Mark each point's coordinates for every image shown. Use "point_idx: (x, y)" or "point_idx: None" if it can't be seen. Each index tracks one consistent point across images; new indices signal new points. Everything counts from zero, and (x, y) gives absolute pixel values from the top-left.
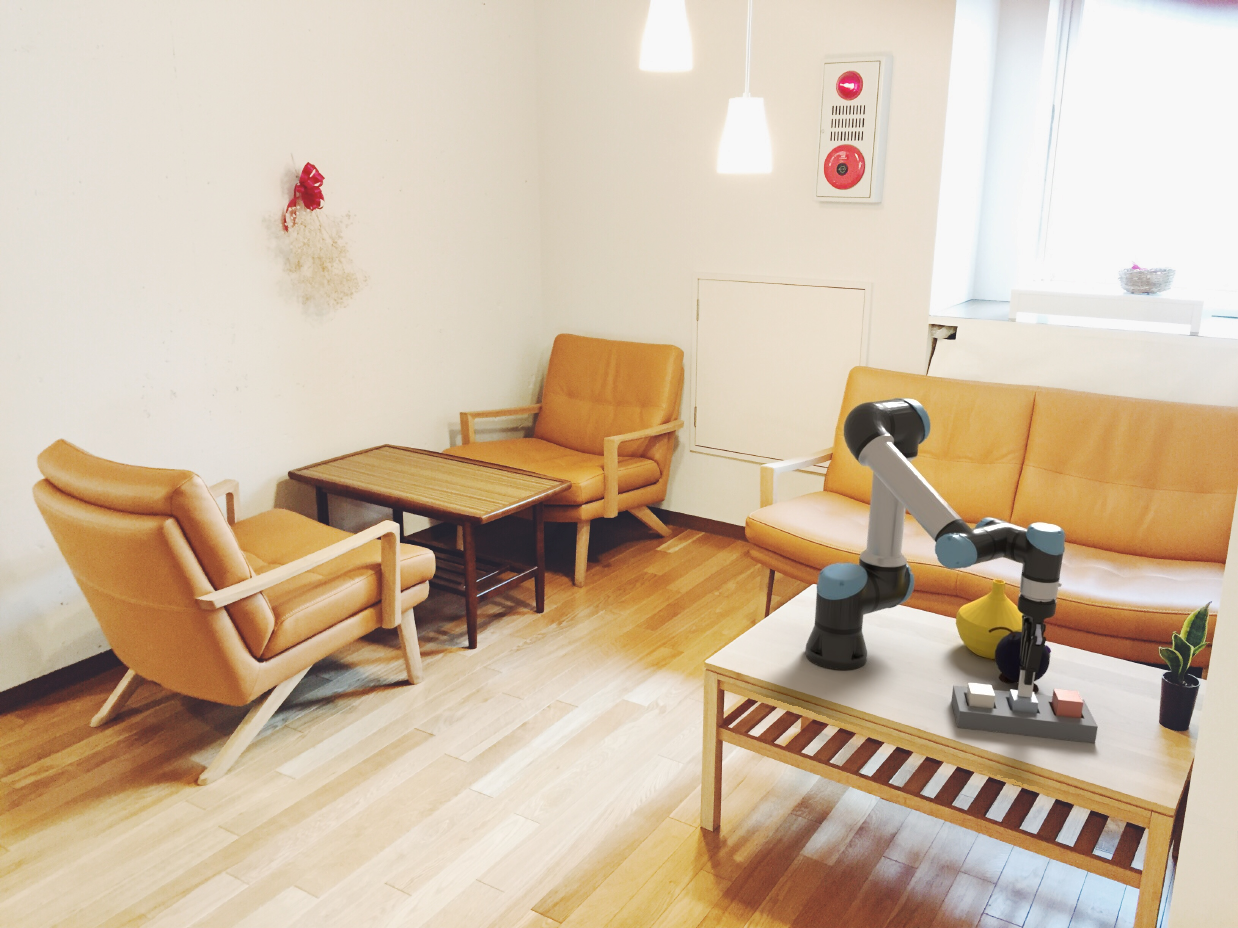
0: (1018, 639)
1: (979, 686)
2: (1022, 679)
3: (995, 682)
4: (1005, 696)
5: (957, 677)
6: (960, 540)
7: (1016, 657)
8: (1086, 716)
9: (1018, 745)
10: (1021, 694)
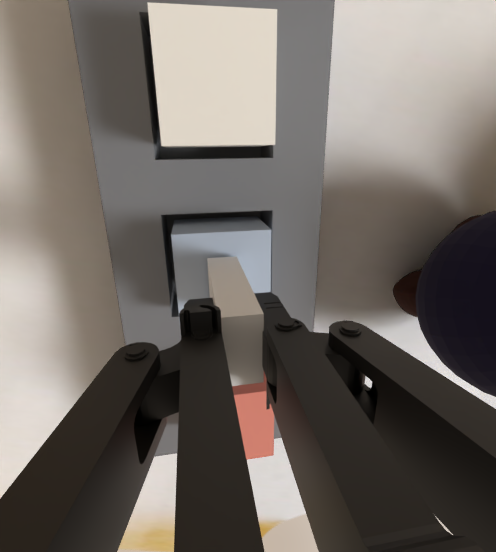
0: None
1: (243, 74)
2: (213, 296)
3: (452, 201)
4: (275, 210)
5: (486, 69)
6: None
7: (491, 287)
8: None
9: (42, 222)
10: (208, 270)
